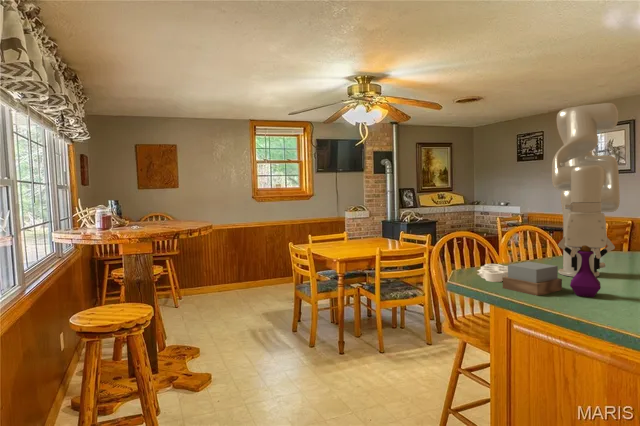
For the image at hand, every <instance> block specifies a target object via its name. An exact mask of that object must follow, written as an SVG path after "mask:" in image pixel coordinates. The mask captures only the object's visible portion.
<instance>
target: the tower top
mask: <svg viewBox="0 0 640 426" xmlns="http://www.w3.org/2000/svg"><path fill="white" fill-rule="evenodd" d="M507 266H508V278H514V279H519V280H524V281H529V282H534V283H539V282H544V281H549V280H554V279H558V278H559V277H558V276H559V275H558V274H559V273H558V270H559V269H558V265H553V264H547V263H539V262H534V261H524V262H523V261H522V262H518V263H517V262H516V263H511V264H508V265H507Z"/></svg>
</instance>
